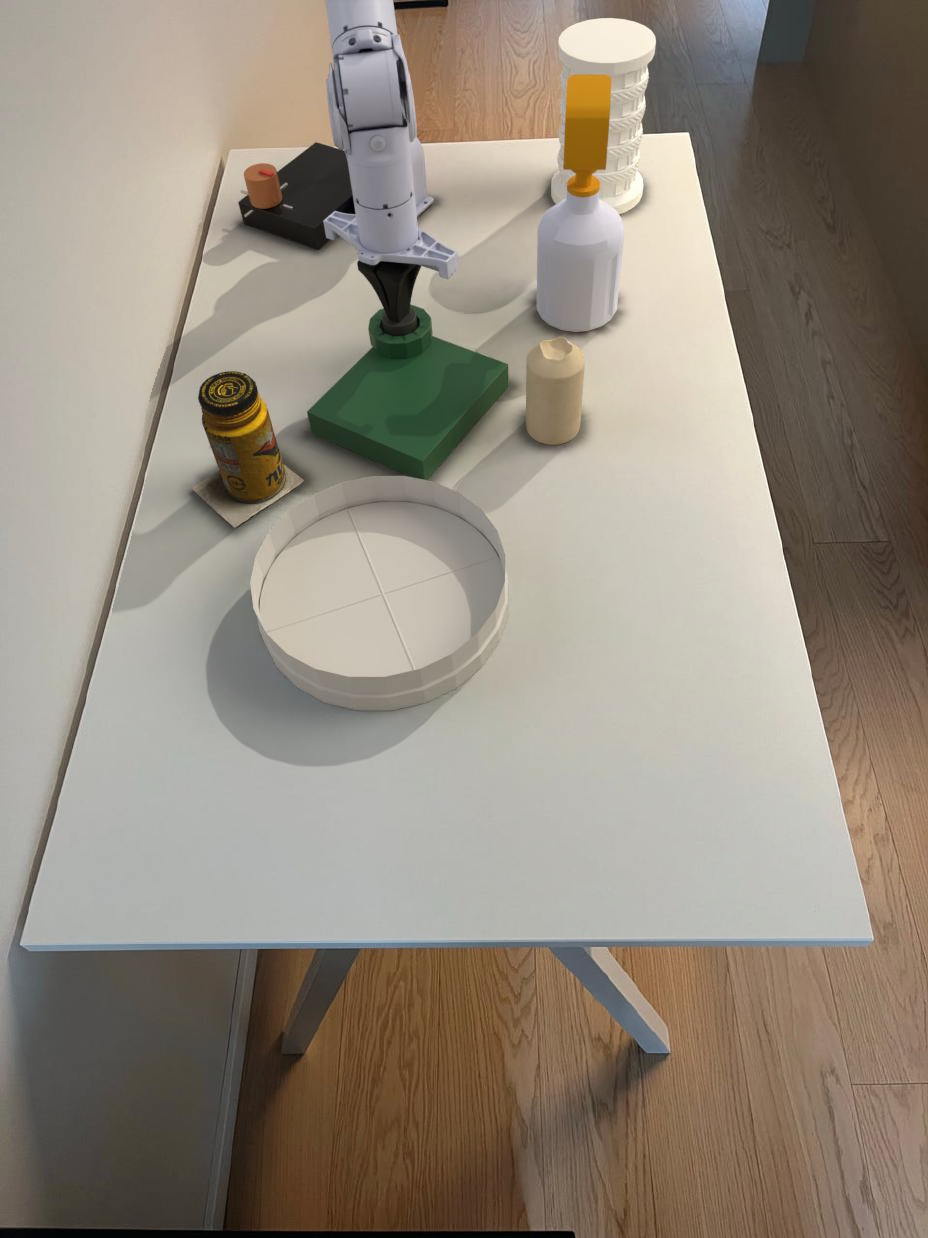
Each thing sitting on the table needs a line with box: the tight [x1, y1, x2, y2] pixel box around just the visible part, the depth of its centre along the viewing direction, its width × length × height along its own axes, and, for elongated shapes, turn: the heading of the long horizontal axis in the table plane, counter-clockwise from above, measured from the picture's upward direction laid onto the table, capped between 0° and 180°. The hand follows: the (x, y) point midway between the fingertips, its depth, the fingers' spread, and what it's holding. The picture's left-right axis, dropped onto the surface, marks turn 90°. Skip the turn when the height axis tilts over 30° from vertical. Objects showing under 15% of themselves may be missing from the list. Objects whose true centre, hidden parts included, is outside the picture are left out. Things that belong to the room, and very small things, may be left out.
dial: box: [243, 162, 282, 209], centre depth 116 cm, size 4×4×4 cm
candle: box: [525, 336, 586, 446], centre depth 92 cm, size 6×6×10 cm
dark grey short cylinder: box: [382, 307, 418, 336], centre depth 99 cm, size 4×4×2 cm
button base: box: [306, 303, 510, 480], centre depth 97 cm, size 17×15×5 cm
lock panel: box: [237, 141, 355, 251], centre depth 121 cm, size 18×13×3 cm
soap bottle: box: [536, 75, 625, 333], centre depth 97 cm, size 9×9×25 cm
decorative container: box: [550, 17, 657, 215], centre depth 113 cm, size 12×12×18 cm
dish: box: [249, 475, 509, 712], centre depth 82 cm, size 22×22×5 cm
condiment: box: [191, 370, 305, 529], centre depth 89 cm, size 7×8×12 cm
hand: (398, 315), depth 99 cm, fingers closed, pressing on dark grey short cylinder
